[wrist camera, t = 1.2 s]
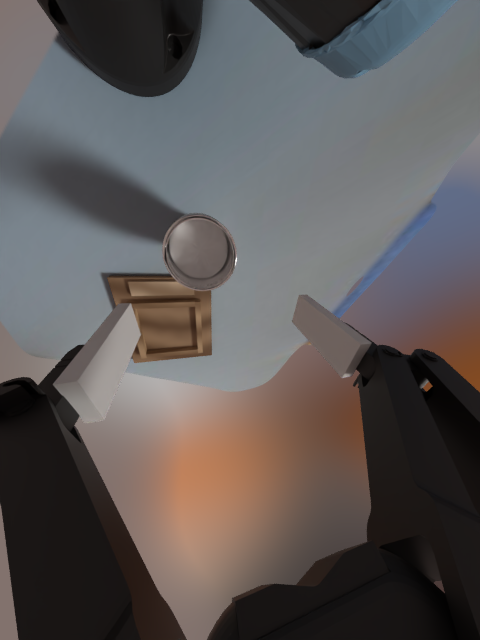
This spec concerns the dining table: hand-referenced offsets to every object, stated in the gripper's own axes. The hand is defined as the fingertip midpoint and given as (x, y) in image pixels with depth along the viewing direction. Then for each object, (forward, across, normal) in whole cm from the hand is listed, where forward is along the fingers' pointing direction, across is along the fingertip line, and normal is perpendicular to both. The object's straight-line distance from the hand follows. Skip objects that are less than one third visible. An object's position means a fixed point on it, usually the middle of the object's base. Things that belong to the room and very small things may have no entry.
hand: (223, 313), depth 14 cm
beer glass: (+20, -2, +3) cm, 20 cm away
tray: (+19, -8, -12) cm, 24 cm away
